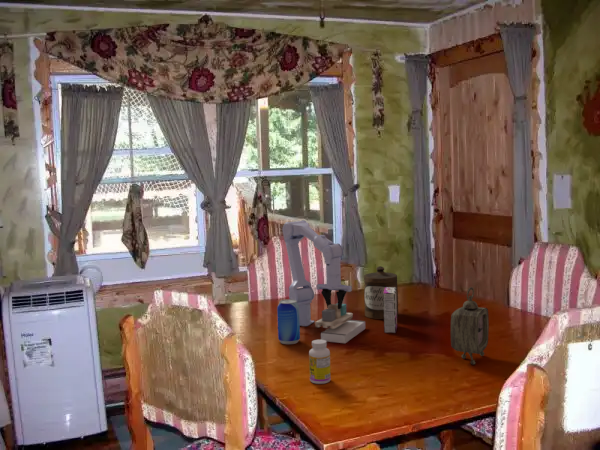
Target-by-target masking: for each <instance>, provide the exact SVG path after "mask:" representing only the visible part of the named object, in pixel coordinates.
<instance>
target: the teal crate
mask: <svg viewBox="0 0 600 450" xmlns="http://www.w3.org/2000/svg"><path fill="white" fill-rule="evenodd" d="M336 304H338V302H337V303H336ZM340 311H341V316H343V315H345V314H346V313H347V303H342V308H341V309H340Z"/></svg>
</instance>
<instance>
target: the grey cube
mask: <svg viewBox="0 0 600 450" xmlns="http://www.w3.org/2000/svg"><path fill="white" fill-rule="evenodd" d="M321 319H322V321H326V322H332V321H334V320H336V316H335V310H333V309H328V308H325V309H323V310H321Z"/></svg>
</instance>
